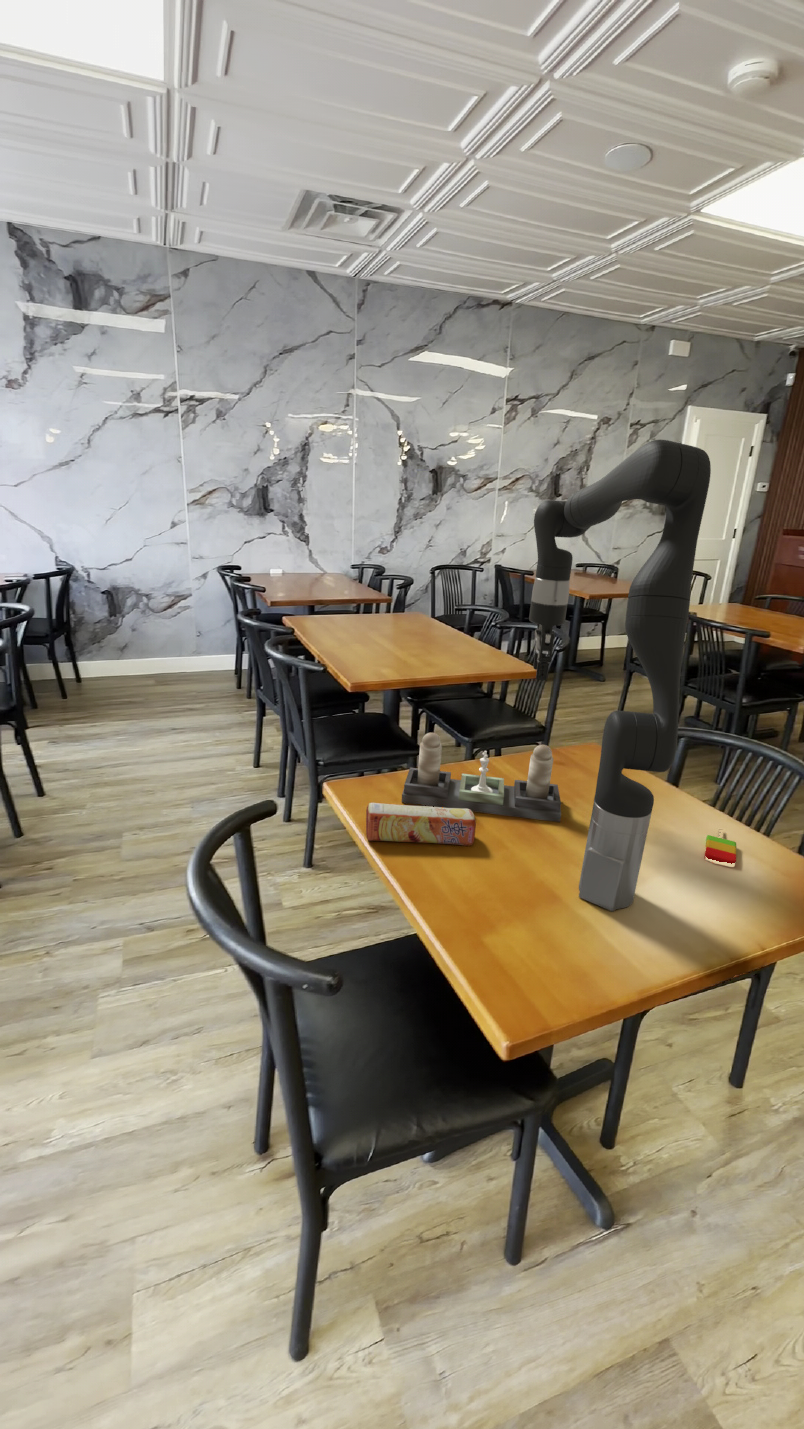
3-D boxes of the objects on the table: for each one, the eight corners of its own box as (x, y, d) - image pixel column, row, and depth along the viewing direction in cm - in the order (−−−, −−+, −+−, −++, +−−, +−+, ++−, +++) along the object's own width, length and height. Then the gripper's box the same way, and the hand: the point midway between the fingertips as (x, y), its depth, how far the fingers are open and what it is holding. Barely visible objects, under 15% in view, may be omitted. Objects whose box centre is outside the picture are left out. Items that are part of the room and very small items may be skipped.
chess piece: (476, 799, 141) (480, 756, 138) (466, 789, 145) (470, 748, 142) (496, 796, 143) (501, 754, 139) (486, 787, 147) (490, 746, 144)
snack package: (470, 832, 131) (473, 802, 129) (474, 850, 125) (478, 818, 123) (365, 827, 131) (367, 797, 128) (364, 844, 124) (365, 813, 122)
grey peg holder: (555, 799, 148) (565, 738, 143) (559, 822, 138) (570, 757, 133) (408, 781, 152) (412, 722, 147) (401, 802, 142) (405, 739, 137)
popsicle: (703, 862, 126) (705, 854, 126) (706, 830, 139) (708, 822, 139) (734, 871, 124) (737, 862, 124) (734, 837, 137) (736, 829, 136)
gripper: (571, 607, 130) (560, 685, 135) (564, 596, 143) (553, 667, 149) (533, 604, 131) (523, 681, 136) (529, 594, 144) (520, 664, 149)
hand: (539, 674), depth 142 cm, fingers open, 8 cm apart
